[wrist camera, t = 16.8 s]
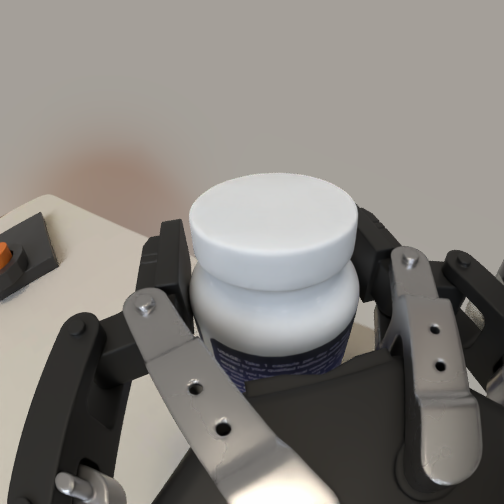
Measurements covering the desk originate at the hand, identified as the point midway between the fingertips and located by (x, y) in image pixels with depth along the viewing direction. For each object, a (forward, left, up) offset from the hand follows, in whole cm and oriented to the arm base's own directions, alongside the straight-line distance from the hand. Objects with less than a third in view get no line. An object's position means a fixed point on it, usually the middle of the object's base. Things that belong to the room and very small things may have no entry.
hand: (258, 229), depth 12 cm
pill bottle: (+1, +2, -8) cm, 8 cm away
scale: (+14, -28, -9) cm, 33 cm away
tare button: (+14, -23, -7) cm, 28 cm away
